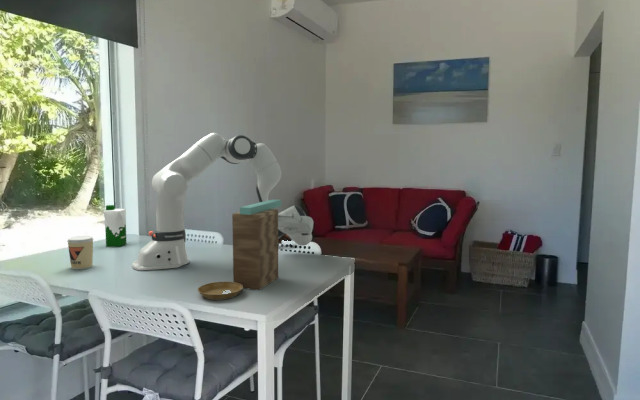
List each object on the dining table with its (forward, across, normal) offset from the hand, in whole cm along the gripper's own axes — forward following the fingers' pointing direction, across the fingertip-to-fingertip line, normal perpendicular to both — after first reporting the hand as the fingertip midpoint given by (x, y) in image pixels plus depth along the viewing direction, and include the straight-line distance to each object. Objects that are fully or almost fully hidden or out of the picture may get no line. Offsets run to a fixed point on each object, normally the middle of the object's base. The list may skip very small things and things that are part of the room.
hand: (282, 214), depth 190 cm
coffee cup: (+13, -77, +34) cm, 85 cm away
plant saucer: (+24, -5, +40) cm, 47 cm away
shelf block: (+10, 0, +31) cm, 32 cm away
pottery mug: (-42, -16, +1) cm, 45 cm away
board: (+19, 0, +6) cm, 20 cm away
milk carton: (-20, -94, +14) cm, 97 cm away
